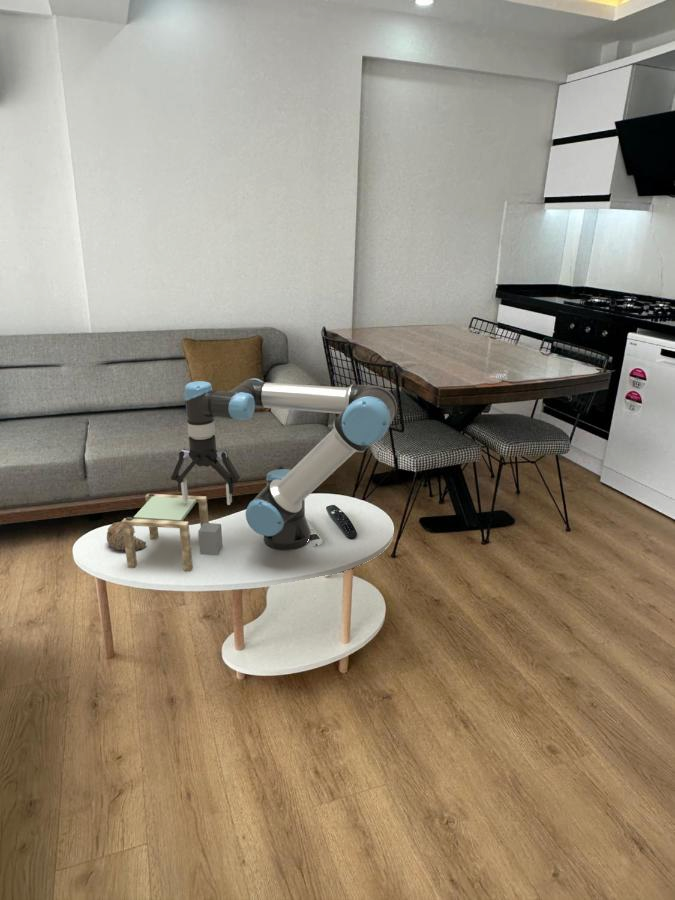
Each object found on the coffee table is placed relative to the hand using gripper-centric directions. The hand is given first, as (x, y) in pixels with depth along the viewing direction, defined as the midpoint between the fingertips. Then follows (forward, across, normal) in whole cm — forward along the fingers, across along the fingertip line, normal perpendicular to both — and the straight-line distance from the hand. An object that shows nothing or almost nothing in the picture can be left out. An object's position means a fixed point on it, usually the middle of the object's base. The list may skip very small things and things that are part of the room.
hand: (207, 502), depth 182 cm
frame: (+16, +12, +3) cm, 21 cm away
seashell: (+17, +28, -2) cm, 33 cm away
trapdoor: (+5, +12, +3) cm, 13 cm away
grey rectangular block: (+13, 0, 0) cm, 13 cm away
